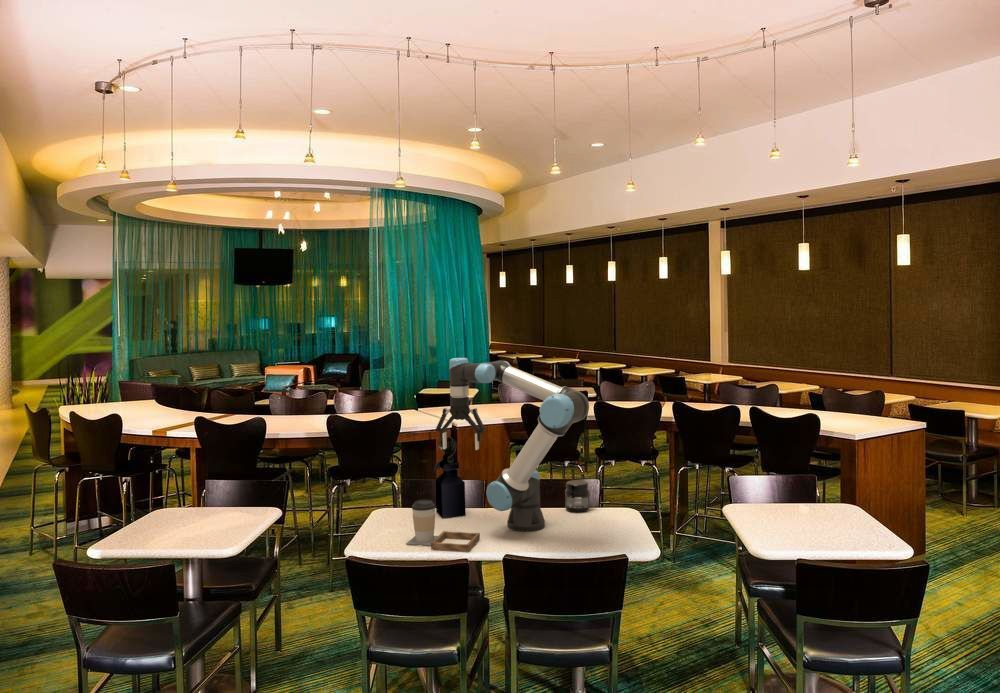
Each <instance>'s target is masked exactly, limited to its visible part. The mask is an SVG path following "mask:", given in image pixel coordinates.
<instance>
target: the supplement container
mask: <svg viewBox="0 0 1000 693" xmlns="http://www.w3.org/2000/svg"><path fill="white" fill-rule="evenodd" d="M565 488H566V489H565V490H564V493H565V494H564V495H565V507H564V508H565V510H566V511H567V512H569V513H572V514H573V513H575V514H580V513H586V512H588V511H590V489H589V482H588V481H586V480H581V479H580V480H579V479H575V480H569V481H567V482H565Z"/></svg>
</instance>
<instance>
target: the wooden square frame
mask: <svg viewBox="0 0 1000 693" xmlns="http://www.w3.org/2000/svg"><path fill="white" fill-rule="evenodd" d="M480 534H481V533H480V532H479V533H478V532H463V531H448V530H447V531H446V530H443V531H442V532H441V533H440V534H439V535H437V536H438V537H437V538H436V539H435V540H434V541H433V542H432V543H431V546H430V550H431V549H433V550H432V551H443V552H444V551H445V552H446V551H447V552H460V553H470V552H471V551H472V549H473V548H474V547H475V546H476V545H477V544H478V542H479V541H480V540H481V535H480ZM446 539H447V540H463V541H465V540H466V541H468V542H467V544H466V543H453V542H452V543H451V542H444V541H445V540H446ZM476 543H477V544H476Z"/></svg>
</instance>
